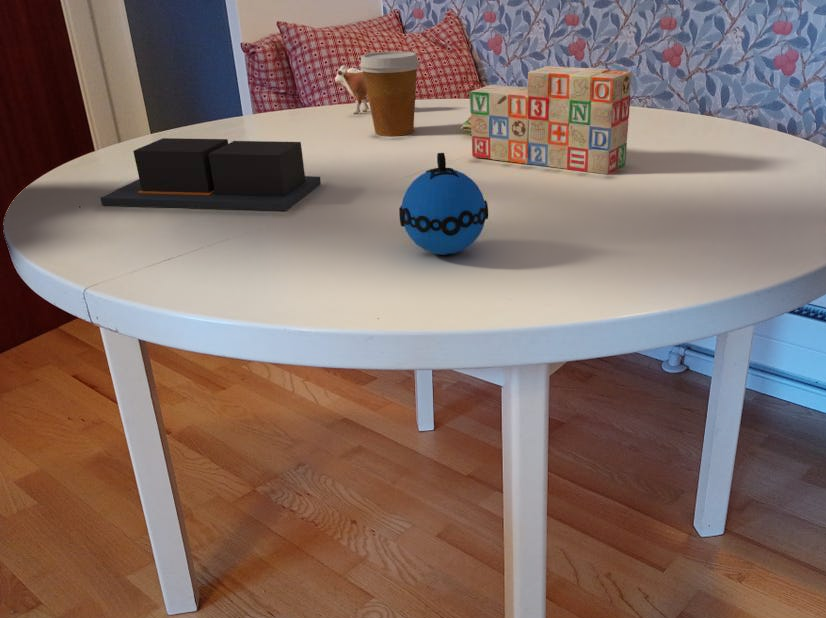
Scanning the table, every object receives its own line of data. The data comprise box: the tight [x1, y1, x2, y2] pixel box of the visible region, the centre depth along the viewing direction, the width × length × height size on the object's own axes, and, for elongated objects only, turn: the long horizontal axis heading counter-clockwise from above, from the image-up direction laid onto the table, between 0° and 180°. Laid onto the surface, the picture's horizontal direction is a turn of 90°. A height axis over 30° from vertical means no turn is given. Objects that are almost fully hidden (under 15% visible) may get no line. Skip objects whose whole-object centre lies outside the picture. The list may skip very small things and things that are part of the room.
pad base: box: [99, 140, 322, 212], centre depth 103 cm, size 24×12×6 cm, turn 80°
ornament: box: [398, 152, 489, 256], centre depth 80 cm, size 9×9×10 cm
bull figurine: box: [334, 65, 370, 115], centre depth 149 cm, size 4×13×8 cm, turn 84°
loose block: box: [132, 137, 229, 193], centre depth 103 cm, size 9×7×5 cm
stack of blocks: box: [469, 65, 633, 175], centre depth 112 cm, size 21×6×12 cm, turn 59°
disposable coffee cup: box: [358, 50, 420, 137], centre depth 132 cm, size 10×10×12 cm
